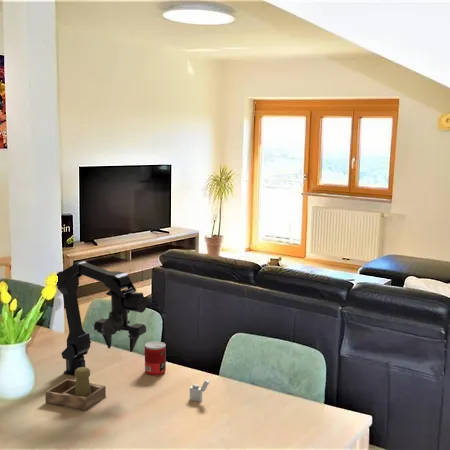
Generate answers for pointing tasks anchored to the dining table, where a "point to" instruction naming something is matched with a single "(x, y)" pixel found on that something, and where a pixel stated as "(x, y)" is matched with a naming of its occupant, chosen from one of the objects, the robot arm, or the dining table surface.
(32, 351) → the dining table surface
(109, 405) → the dining table surface
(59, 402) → the socket box
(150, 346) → the canned food
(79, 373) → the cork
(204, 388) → the lighter
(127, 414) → the dining table surface
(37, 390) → the dining table surface
